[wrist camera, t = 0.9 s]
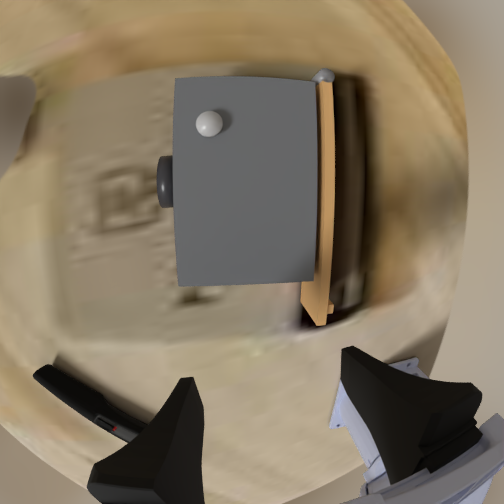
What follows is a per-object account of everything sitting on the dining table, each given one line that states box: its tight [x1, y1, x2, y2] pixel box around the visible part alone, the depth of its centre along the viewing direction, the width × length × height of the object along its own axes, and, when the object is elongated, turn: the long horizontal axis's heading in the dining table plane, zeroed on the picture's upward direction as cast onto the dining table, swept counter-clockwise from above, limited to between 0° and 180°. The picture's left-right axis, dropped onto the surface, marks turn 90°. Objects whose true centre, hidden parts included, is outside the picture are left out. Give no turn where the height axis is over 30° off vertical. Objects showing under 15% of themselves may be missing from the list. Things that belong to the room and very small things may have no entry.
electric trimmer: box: [33, 364, 147, 443], centre depth 21 cm, size 4×16×3 cm, turn 50°
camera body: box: [157, 76, 317, 286], centre depth 17 cm, size 9×12×4 cm
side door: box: [301, 68, 335, 326], centre depth 17 cm, size 1×16×4 cm, turn 0°
